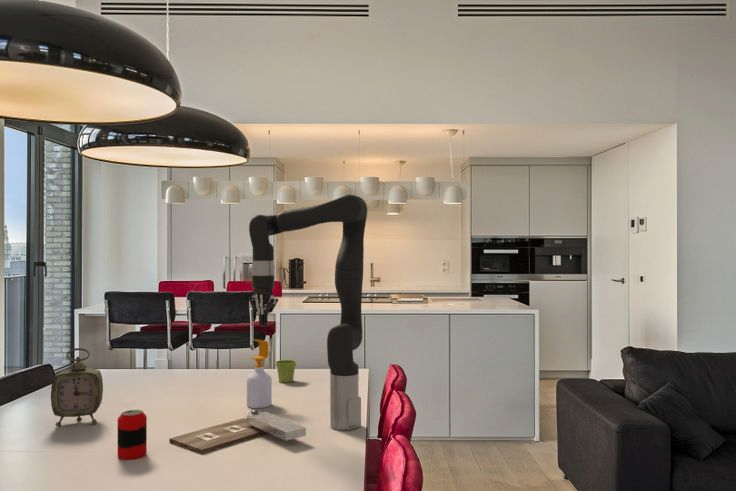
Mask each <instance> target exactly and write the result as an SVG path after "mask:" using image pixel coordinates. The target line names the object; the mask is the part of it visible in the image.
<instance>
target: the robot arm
mask: <svg viewBox="0 0 736 491" xmlns="http://www.w3.org/2000/svg"><path fill="white" fill-rule="evenodd" d="M367 217H368V205H367V204H366V202H365V200H364V199H363V198H362V197H360V196H357V195H355V194H345V195H343V196H340V197H338V198H335V199H332V200H329V201H326V202H323V203H320V204H317V205H311V206H305V207H304V206H303V207H297V208H293V209H287V210H283V211H280V212H279V213H276V214H270V215H265V214H255V215H254V216H252V217H251V219H250V221H249V225H248V232H249V237H250V242H251V247H252V263H251V264H252V265H251V288H252V289H253V291H252V293H253V294H252V296H249V297H248V301H249V303H250V305H251V307H252V309H253V312H254V313H256V314H258V325H259V326H262V327H264V326H267V325H268V322H269V321H268V319H269V318H268V315H269V314H271V313H273V311H274V309H275V308H276V306H277V304H278V302H279V299H278V298H277V297H275V296H274V292H273V290H274V288H275V261H274V257H275V256H274V254H275V250H274V246H273V244H272V243H270V236H274V235H278V234H281V233H286V232H293V231H298V230H303V229H307V228H310V227H313V226H316V225H321V224H325V223H338V222H339V223H342V238H341V243H340V246H339V249H338V253H337V255H336V256H337V257H336V260H335V266H334V267H335V268H334V269H335V270H334V286H335V289H336V290H335V291H336V294H337V296H338V300H339V304H340V323H339V324H337V325H335V326H333V327H331V328H330V330H329V331H328V334H327V339H326V348H327V349H326V351H327V364H328V367H329V372H330V375H329V382H330V383H329V388H330V390H329V394H330V395H329V397H330V398H329V399H330V400H329V404H330V406H329V408H330V409H329V411H330V414H329V418H330V419H329V420H330V428H331V429H334V430H339V431H349V432H350V431H351V430H354V429H357V428H360V427H362V397H361V396H359V380H360V379H359V378H360V377H359V374H360V372H359V371H360V370H359V364H358V363H356V362H355V360H354V354H353V353H354V351H355V350H357V349H359V347H360V345H361V344H362V340H363V319H362V299H363V280H364V258H365V257H364V253H365V251H364V248H365V246H364V240H365V238H364V237H365V230H366V223H367V219H368V218H367Z"/></svg>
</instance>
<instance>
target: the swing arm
mask: <svg viewBox="0 0 736 491" xmlns="http://www.w3.org/2000/svg"><path fill="white" fill-rule="evenodd" d="M246 419H247V424H250V425H252V426H254V427H256V428H259V429H261V430H263V431H265V432H268V433H267V434H270V435H272V436H274V437H277V438H279V439H282V440H283V441H286V442H287V441H291V440H294V439H297V438H302V437H306V436H307V427H305V426H303V425H300V424H298V423H295V422H293V421H290V420H288V419H284V418H282V417H280V416H277V415H275V414H272V413H270V412H268V411H262V412H261V411H259V409H251V410H250V412H248V415H246Z"/></svg>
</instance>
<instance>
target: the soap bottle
mask: <svg viewBox="0 0 736 491" xmlns="http://www.w3.org/2000/svg"><path fill="white" fill-rule="evenodd" d="M252 341H254V342H258V355H256V356H253V357H251V359H252V360H255V362H256V364H254V371H253V372H252V373H250V374H249V375H248V376H247V378H246V407H248V408H251V409H264V408H268V407H270V406H272V399H273V398H272V394H273V393H272V390H273V388H272V382H273V381H272V375H270V374H269V373H268V372H266V371H265V365H264V364H262V362H263V361H264V360H265V359H268V357H269V342H268V341H266V340H263V339H256V338H254V339H253V338H252Z"/></svg>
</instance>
